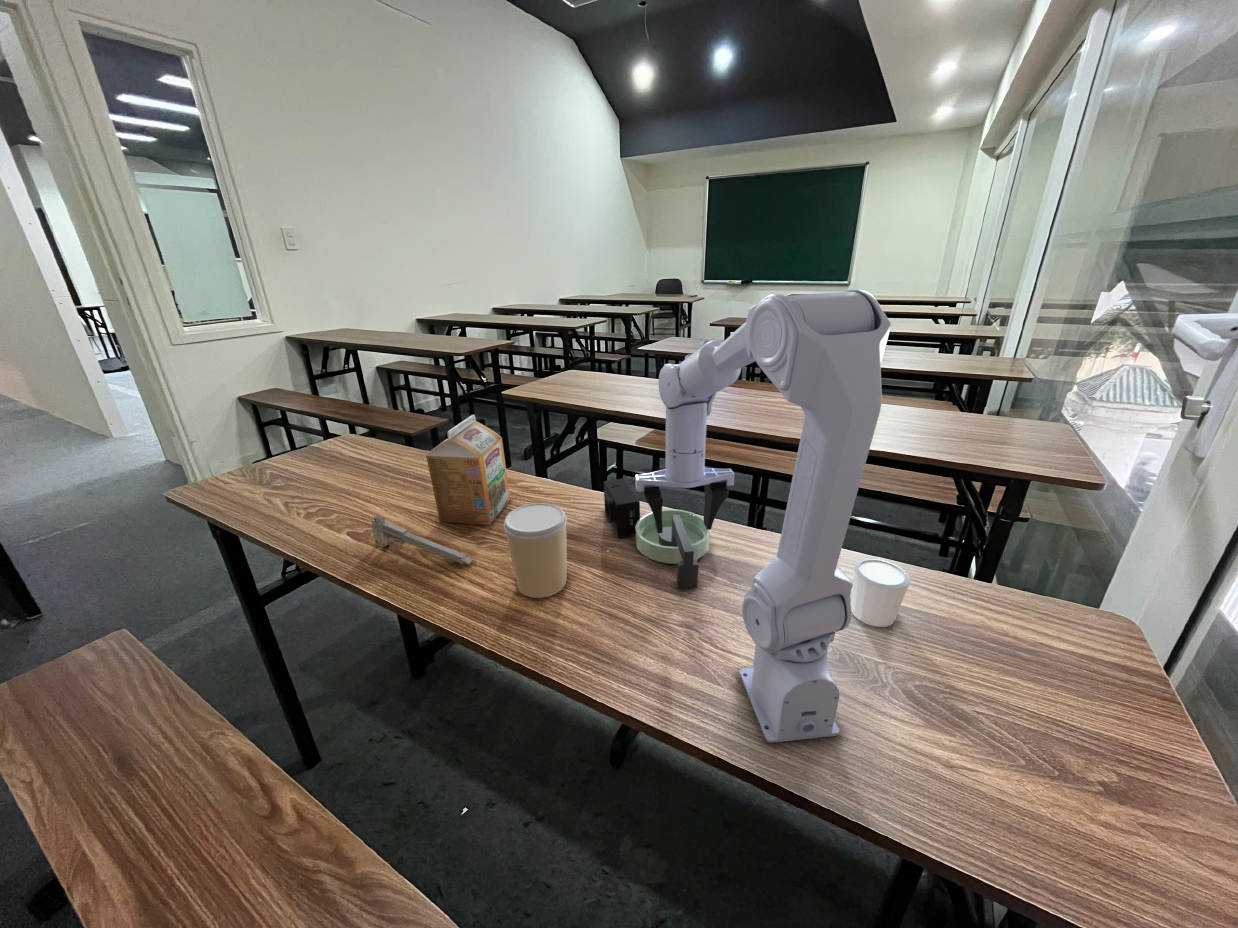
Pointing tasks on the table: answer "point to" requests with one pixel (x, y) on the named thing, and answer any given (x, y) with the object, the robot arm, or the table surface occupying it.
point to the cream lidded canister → (538, 548)
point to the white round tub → (878, 591)
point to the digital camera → (621, 507)
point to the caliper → (412, 540)
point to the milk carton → (469, 474)
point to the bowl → (652, 549)
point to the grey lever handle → (688, 566)
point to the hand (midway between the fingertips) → (683, 528)
